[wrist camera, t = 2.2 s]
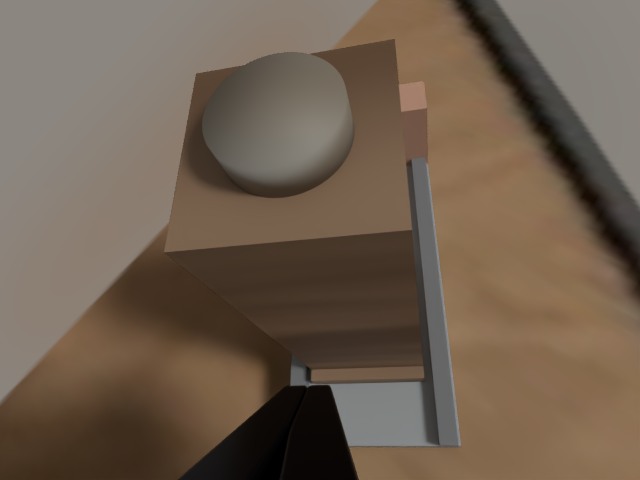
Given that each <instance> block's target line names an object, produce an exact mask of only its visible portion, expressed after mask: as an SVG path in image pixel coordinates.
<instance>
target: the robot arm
mask: <svg viewBox="0 0 640 480" xmlns="http://www.w3.org/2000/svg"><path fill="white" fill-rule="evenodd" d="M178 480H359V479H358V476H357V472H356V469H355V466H354V462H353V459H352V455H351V452H350V449H349V445H348V442H347V439H346V435H345V432H344V429H343V425H342V422H341V419H340V415H339V412H338V409H337V405H336V402H335V399H334V395H333V392H332V389H331V387H330V386H329V385H311V386H309V387H307V386H305V385H296V386H285V387H284V388H283V389H282V390H280V391H279V392H278V393H277V394H276V395H275V396H273V397H272V398H271V399H270V400H269V401H268V402H267V403H265V404H264V405H263V406H262V407H261V408H260V409H259V410H257V411H256V412H255V413H254V414H253V415H252V416H250V417H249V418H248V419H247V420H246V421H245V422H244V423H242V424H241V425H240V426H239V427H238V428H237V429H236V430H234V431H233V432H232V433H231V434H230V435H229V436H227V437H226V438H225V439H224V440H223V441H222V442H221V443H219V444H218V445H217V446H216V447H215V448H214V449H213V450H211V451H210V452H209V453H208V454H207V455H206V456H204V457H203V458H202V459H201V460H200V461H199V462H198V463H196V464H195V465H194V466H193V467H192V468H191V469H190V470H188V471H187V472H186V473H185V474H184V475H183V476H182V477H180V478H179V479H178Z"/></svg>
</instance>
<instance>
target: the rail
mask: <svg viewBox="0 0 640 480" xmlns="http://www.w3.org/2000/svg"><path fill="white" fill-rule="evenodd" d="M399 92H400V103H401V114H402V125H403V136H404V147H405V158H406V169H407V180H408V190H409V201H410V212H411V223H412V235H413V247H414V259H415V271H416V283H417V295H418V307H419V319H420V332H421V344H422V356H423V368H424V379H425V382H394V383H354V384H315V383H314V382H312V381H311V373H312V370H311V369H310V368H309V367H308V366H306V365H305V364H304V363H303V362H301V361H300V360H299V359H298V358H296V357H295V356H294V355H291V381H290V386H296V385H305V386H307V387H309V386H311V385H329V386H330V387H331V389H332V392H333V395H334V399H335V402H336V405H337V409H338V412H339V415H340V419H341V422H342V425H343V429H344V432H345V435H346V439H347V442H348V445H349V447H460V446H461V442H460V433H459V425H458V416H457V408H456V399H455V391H454V382H453V374H452V365H451V357H450V348H449V340H448V331H447V323H446V314H445V306H444V298H443V289H442V281H441V272H440V264H439V255H438V247H437V238H436V230H435V221H434V213H433V204H432V196H431V187H430V179H429V170H428V147H427V104H426V96H425V88H424V81H421V82H414V83H408V84H401V85H399Z"/></svg>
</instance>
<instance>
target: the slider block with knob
mask: <svg viewBox="0 0 640 480" xmlns="http://www.w3.org/2000/svg"><path fill="white" fill-rule="evenodd" d="M164 253H165V254H167V255H168V256H169V257H170V258H172V259H173V260H174V261H175V262H177V263H178V264H179V265H180V266H182V267H183V268H184V269H185V270H187V271H188V272H189V273H190V274H192V275H193V276H194V277H195V278H197V279H198V280H199V281H201V282H202V283H203V284H204V285H206V286H207V287H208V288H209V289H211V290H212V291H213V292H214V293H216V294H217V295H218V296H219V297H221V298H222V299H223V300H224V301H226V302H227V303H228V304H230V305H231V306H232V307H233V308H235V309H236V310H237V311H238V312H240V313H241V314H242V315H243V316H245V317H246V318H247V319H248V320H250V321H251V322H252V323H253V324H255V325H256V326H257V327H258V328H260V329H261V330H262V331H264V332H265V333H266V334H267V335H269V336H270V337H271V338H272V339H274V340H275V341H276V342H277V343H279V344H280V345H281V346H282V347H284V348H285V349H286V350H287V351H289V352H290V353H291V354H292V355H294V356H295V357H296V358H298V359H299V360H300V361H301V362H303V363H304V364H305V365H306V366H308V367H309V368H310V369H311V370H312V373H311V381H312V382H314V383H315V384H354V383H394V382H425V379H424V368H423V356H422V344H421V332H420V319H419V307H418V295H417V283H416V271H415V259H414V247H413V235H412V223H411V212H410V201H409V190H408V180H407V169H406V158H405V147H404V136H403V125H402V114H401V103H400V92H399V81H398V70H397V59H396V49H395V39H392V40H387V41H381V42H375V43H369V44H364V45H358V46H352V47H347V48H341V49H335V50H329V51H324V52H319V53H312V54H305V53H297V52H287V53H277V54H272V55H268V56H265V57H262V58H259V59H256V60H254V61H252V62H249V63H248V64H246V65H243V66H238V67H232V68H226V69H221V70H215V71H209V72H203V73H198V74H196V77H195V83H194V88H193V94H192V100H191V105H190V110H189V116H188V121H187V127H186V133H185V138H184V143H183V149H182V154H181V160H180V165H179V171H178V176H177V182H176V187H175V193H174V199H173V204H172V210H171V215H170V221H169V226H168V232H167V237H166V243H165V248H164Z"/></svg>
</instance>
